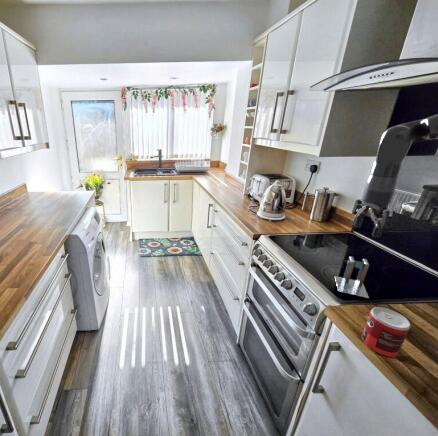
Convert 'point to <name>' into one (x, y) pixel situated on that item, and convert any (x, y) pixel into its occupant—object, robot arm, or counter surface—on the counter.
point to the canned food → (385, 331)
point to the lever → (356, 265)
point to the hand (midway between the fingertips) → (365, 231)
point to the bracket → (353, 285)
